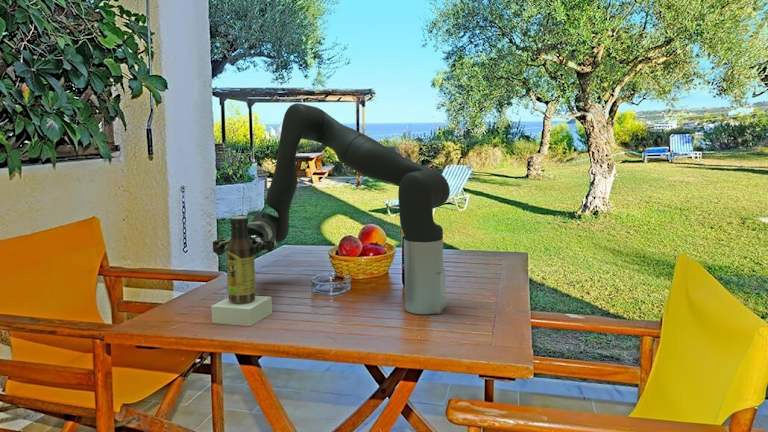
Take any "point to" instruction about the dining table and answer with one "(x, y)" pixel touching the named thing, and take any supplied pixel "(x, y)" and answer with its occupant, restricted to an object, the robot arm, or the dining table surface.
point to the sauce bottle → (240, 262)
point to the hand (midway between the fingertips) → (236, 250)
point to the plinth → (241, 311)
